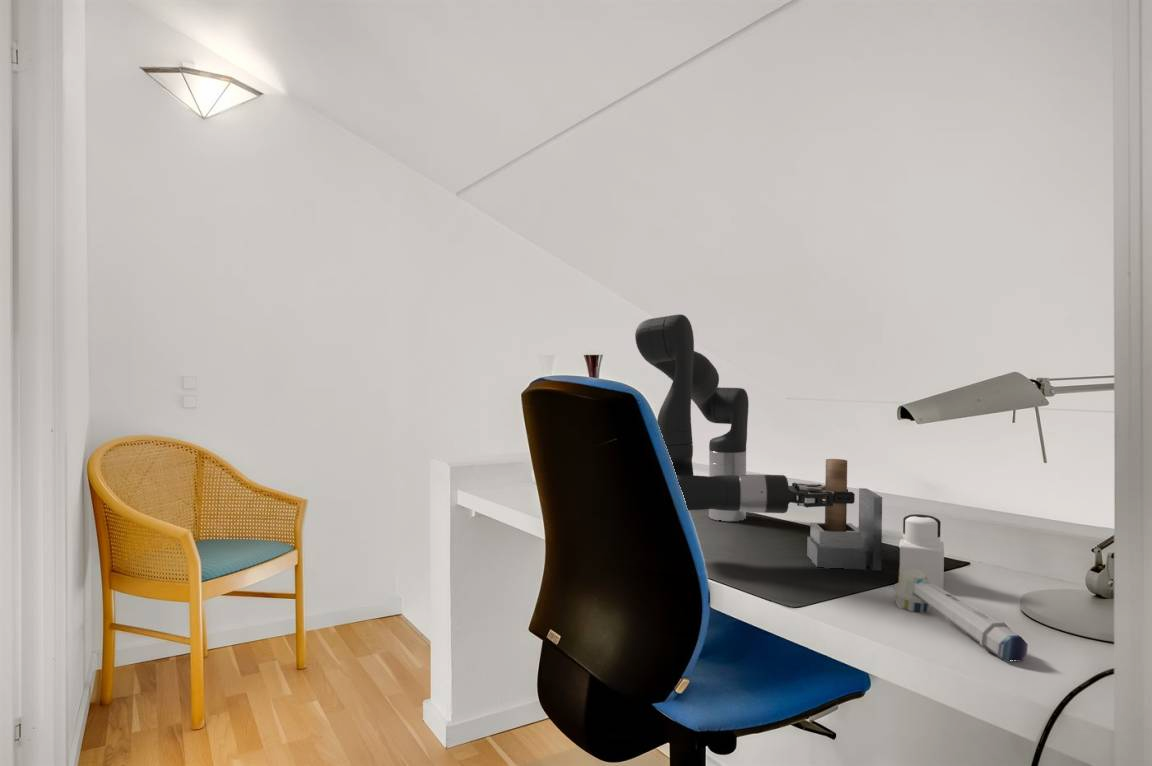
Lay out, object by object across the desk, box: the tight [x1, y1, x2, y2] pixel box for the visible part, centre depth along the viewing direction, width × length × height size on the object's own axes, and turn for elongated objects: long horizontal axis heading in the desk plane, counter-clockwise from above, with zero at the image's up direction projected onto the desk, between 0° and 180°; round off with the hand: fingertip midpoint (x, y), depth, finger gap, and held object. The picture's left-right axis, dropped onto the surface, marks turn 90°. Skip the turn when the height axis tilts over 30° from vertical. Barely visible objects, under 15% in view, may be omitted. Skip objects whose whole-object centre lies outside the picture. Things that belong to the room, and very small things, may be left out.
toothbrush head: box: [893, 568, 1028, 662], centre depth 108 cm, size 5×7×25 cm
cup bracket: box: [806, 487, 883, 572], centre depth 144 cm, size 10×12×14 cm
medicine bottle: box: [898, 513, 945, 590], centre depth 131 cm, size 7×7×12 cm
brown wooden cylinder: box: [824, 458, 848, 531], centre depth 144 cm, size 4×4×16 cm
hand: (850, 495), depth 144 cm, fingers open, 4 cm apart
